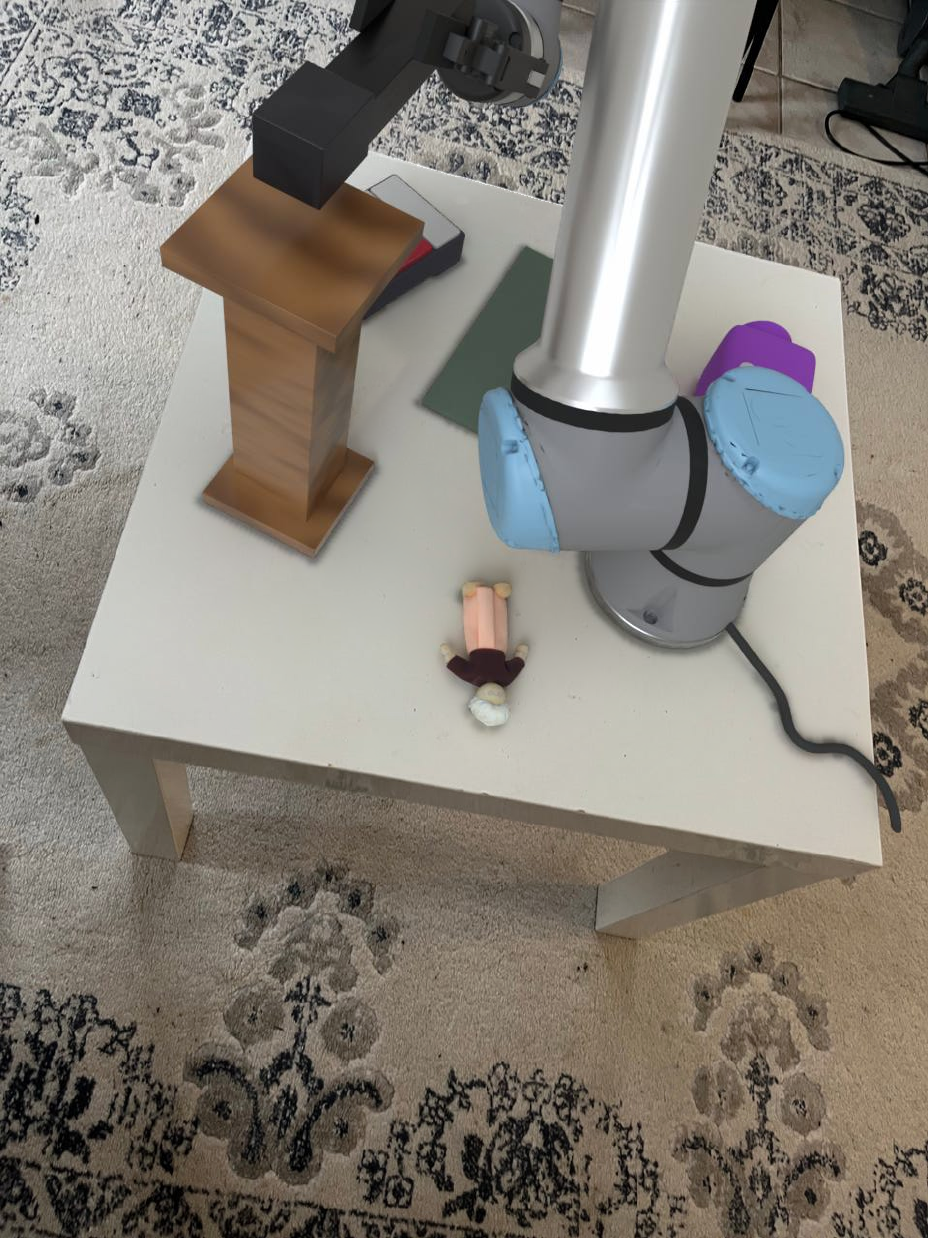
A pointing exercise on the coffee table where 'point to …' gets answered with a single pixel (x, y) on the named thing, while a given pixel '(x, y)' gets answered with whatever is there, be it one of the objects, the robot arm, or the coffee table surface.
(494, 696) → the grandmother figurine
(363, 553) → the coffee table surface
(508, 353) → the mat
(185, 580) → the coffee table surface
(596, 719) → the coffee table surface
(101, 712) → the coffee table surface
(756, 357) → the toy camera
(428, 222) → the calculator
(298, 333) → the stand
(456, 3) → the black square bar
